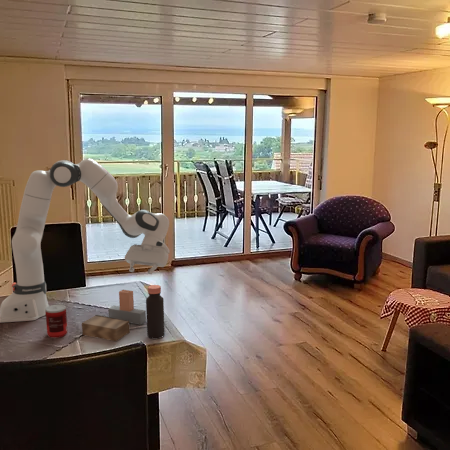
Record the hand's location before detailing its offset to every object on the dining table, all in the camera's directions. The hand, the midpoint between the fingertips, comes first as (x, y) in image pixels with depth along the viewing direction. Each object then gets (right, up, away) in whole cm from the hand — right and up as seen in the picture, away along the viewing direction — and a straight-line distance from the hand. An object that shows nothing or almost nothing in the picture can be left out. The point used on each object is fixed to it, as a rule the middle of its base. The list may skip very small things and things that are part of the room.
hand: (140, 272), depth 210 cm
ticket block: (-10, -22, -20) cm, 32 cm away
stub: (-4, -20, -7) cm, 21 cm away
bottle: (+10, -23, -22) cm, 33 cm away
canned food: (-29, -23, -20) cm, 42 cm away
